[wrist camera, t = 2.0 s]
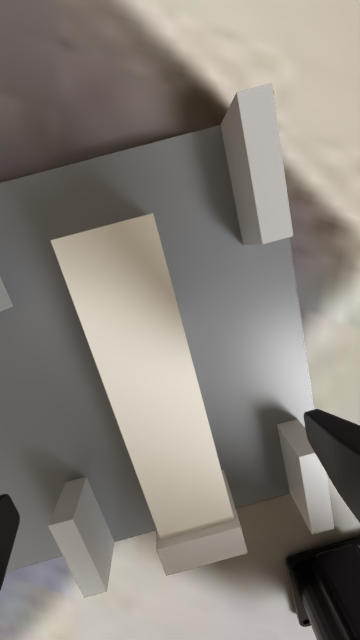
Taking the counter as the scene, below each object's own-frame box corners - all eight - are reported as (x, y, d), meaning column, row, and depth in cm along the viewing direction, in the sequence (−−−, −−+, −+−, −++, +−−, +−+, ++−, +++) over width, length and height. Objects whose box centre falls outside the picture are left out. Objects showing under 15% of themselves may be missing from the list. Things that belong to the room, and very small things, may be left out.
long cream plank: (229, 492, 16) (247, 553, 13) (164, 510, 16) (166, 575, 13) (158, 220, 12) (158, 210, 9) (71, 243, 12) (40, 241, 9)
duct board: (319, 476, 17) (359, 532, 14) (-100, 591, 17) (-166, 677, 14) (265, 117, 12) (308, 65, 9) (-338, 277, 12) (-541, 288, 8)
